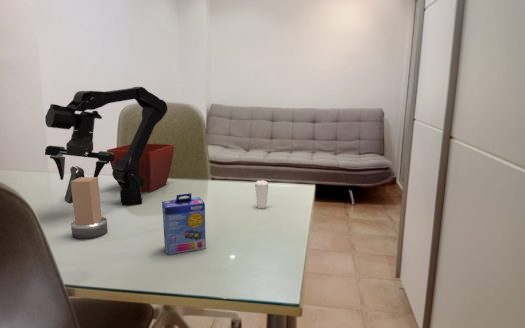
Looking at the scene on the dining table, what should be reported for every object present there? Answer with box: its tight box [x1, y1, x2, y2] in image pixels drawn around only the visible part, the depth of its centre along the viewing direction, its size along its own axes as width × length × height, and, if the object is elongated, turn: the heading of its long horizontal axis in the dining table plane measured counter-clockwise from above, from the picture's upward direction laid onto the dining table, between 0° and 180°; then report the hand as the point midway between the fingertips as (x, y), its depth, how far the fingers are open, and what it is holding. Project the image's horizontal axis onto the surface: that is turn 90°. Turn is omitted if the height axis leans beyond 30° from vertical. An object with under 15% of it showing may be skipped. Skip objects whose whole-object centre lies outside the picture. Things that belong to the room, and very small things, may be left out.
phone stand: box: [64, 165, 85, 204], centre depth 137 cm, size 9×6×12 cm, turn 131°
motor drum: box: [70, 216, 109, 241], centre depth 104 cm, size 9×9×4 cm
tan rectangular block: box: [71, 176, 103, 225], centre depth 103 cm, size 5×5×12 cm
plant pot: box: [106, 142, 175, 193], centre depth 152 cm, size 19×19×17 cm
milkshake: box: [254, 179, 271, 209], centre depth 126 cm, size 4×5×10 cm
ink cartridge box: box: [161, 192, 207, 256], centre depth 93 cm, size 10×6×14 cm, turn 114°
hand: (78, 181), depth 118 cm, fingers open, 9 cm apart
